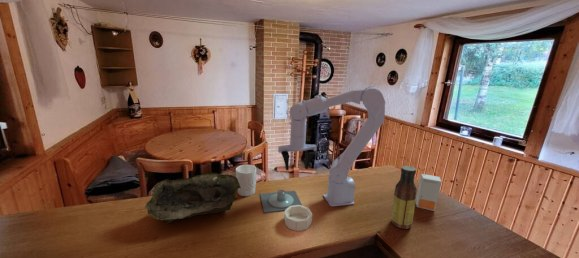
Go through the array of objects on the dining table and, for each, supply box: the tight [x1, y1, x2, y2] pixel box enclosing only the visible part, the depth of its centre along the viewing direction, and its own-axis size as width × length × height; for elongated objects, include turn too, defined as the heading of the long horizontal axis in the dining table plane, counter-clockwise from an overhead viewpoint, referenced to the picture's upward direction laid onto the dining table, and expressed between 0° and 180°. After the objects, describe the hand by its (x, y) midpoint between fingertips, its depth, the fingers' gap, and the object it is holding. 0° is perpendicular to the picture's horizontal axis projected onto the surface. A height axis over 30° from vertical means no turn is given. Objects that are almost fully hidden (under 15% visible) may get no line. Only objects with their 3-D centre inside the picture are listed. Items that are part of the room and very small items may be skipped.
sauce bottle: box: [391, 165, 418, 230], centre depth 75 cm, size 7×6×20 cm
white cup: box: [235, 164, 257, 197], centre depth 93 cm, size 8×8×10 cm
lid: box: [269, 189, 294, 208], centre depth 87 cm, size 9×9×4 cm
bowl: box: [283, 204, 313, 232], centre depth 76 cm, size 8×8×4 cm
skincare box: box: [415, 173, 443, 212], centre depth 87 cm, size 6×4×12 cm
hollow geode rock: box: [144, 172, 241, 225], centre depth 79 cm, size 28×13×15 cm
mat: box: [259, 190, 303, 214], centre depth 88 cm, size 14×12×1 cm
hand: (296, 168), depth 92 cm, fingers open, 7 cm apart
